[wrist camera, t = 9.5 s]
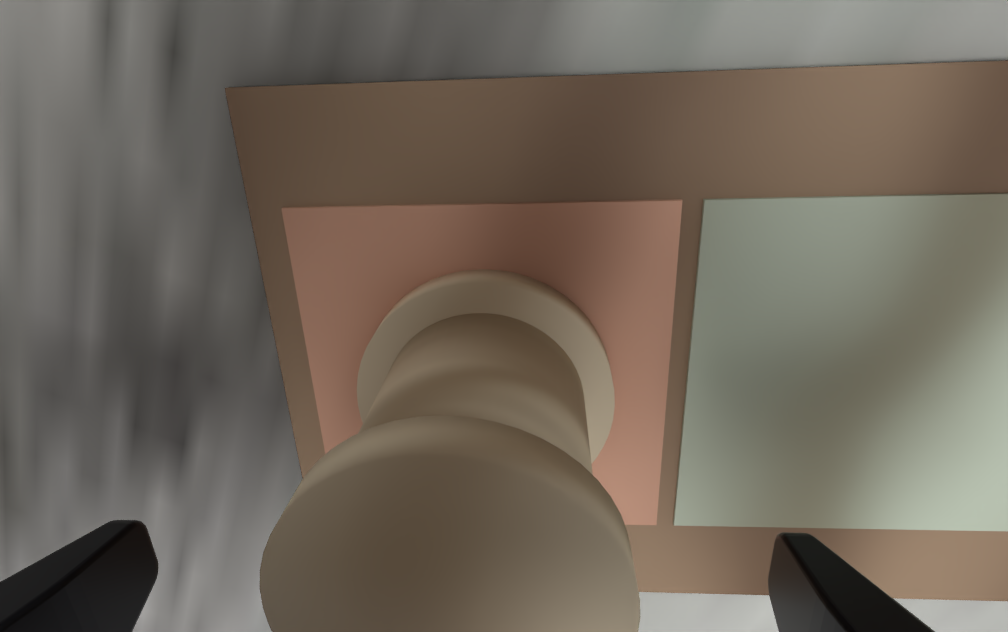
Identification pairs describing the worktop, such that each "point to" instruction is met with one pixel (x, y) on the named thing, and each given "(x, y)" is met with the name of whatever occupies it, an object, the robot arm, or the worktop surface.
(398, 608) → the pawn
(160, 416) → the worktop surface
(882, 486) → the board
